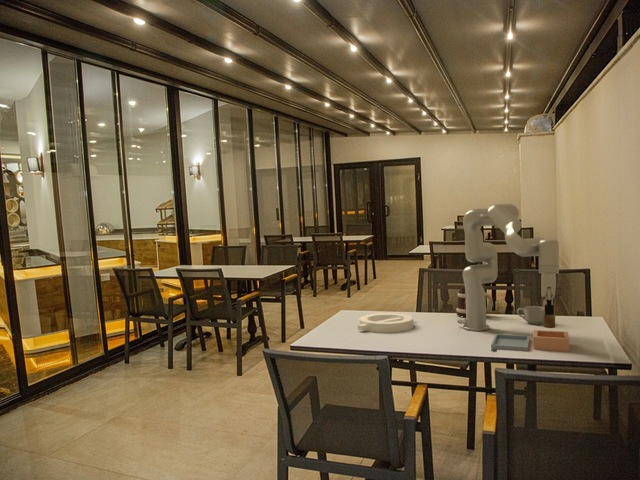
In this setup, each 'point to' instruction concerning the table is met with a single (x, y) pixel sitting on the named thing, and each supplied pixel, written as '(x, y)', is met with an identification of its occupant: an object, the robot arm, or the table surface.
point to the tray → (510, 342)
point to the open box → (551, 340)
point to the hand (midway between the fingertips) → (549, 312)
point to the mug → (462, 303)
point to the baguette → (548, 317)
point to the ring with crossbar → (386, 322)
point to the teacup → (532, 314)
